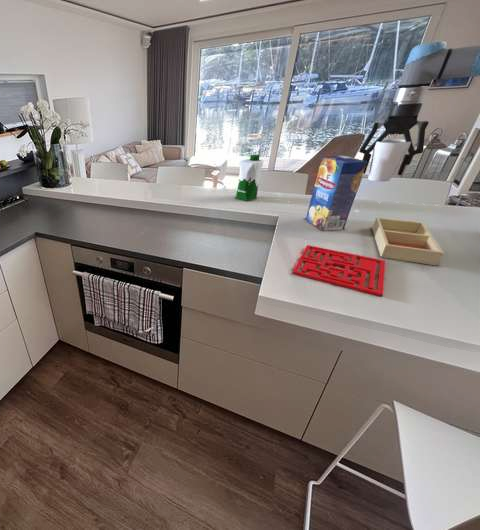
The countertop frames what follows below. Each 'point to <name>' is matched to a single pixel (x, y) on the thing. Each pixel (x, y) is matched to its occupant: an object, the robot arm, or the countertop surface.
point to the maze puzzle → (364, 266)
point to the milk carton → (249, 178)
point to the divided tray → (406, 241)
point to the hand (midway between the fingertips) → (381, 173)
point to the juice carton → (335, 191)
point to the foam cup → (387, 158)
